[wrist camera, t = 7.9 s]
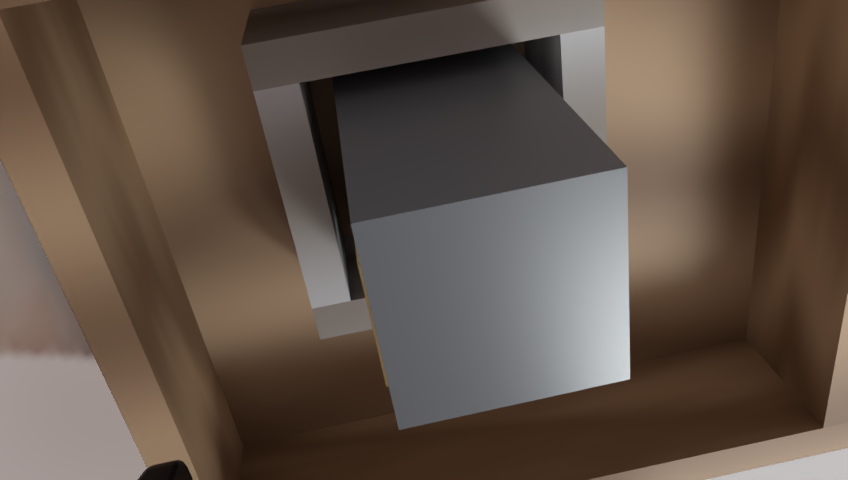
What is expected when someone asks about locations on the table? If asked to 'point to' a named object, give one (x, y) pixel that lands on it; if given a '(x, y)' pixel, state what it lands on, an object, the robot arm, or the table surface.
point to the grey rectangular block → (483, 234)
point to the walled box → (335, 248)
